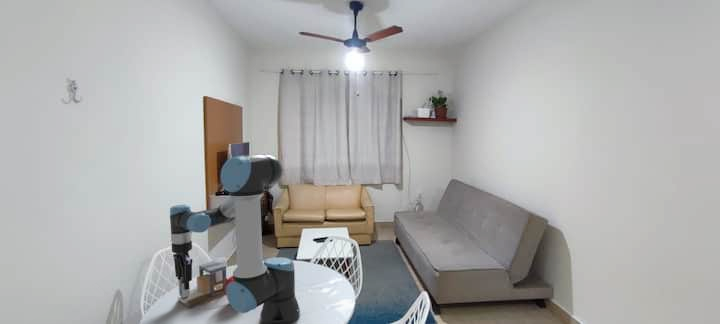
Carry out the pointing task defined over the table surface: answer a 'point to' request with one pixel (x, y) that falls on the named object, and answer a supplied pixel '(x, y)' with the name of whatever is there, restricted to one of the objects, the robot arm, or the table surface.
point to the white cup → (222, 261)
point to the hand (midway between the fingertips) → (184, 294)
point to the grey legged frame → (220, 285)
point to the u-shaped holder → (202, 288)
